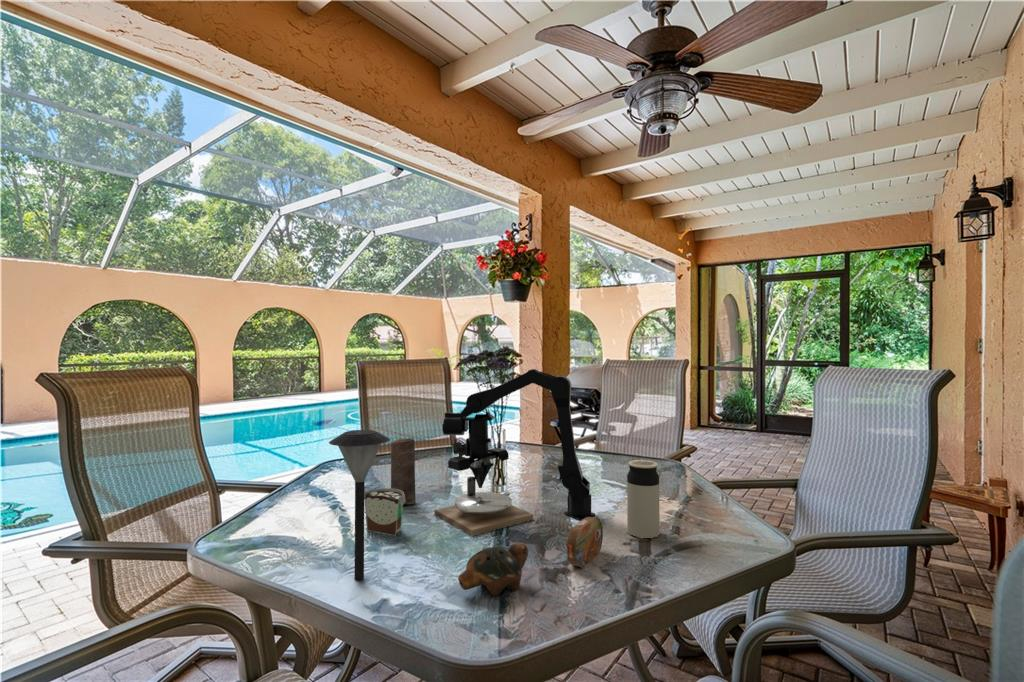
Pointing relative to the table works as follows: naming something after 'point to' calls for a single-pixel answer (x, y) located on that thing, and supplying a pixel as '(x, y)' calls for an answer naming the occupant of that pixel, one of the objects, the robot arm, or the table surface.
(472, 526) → the base plate
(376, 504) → the food container
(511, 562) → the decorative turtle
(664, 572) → the table surface
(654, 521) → the travel mug
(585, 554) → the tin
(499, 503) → the handwheel
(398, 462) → the candle
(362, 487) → the solar garden light
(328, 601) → the table surface
